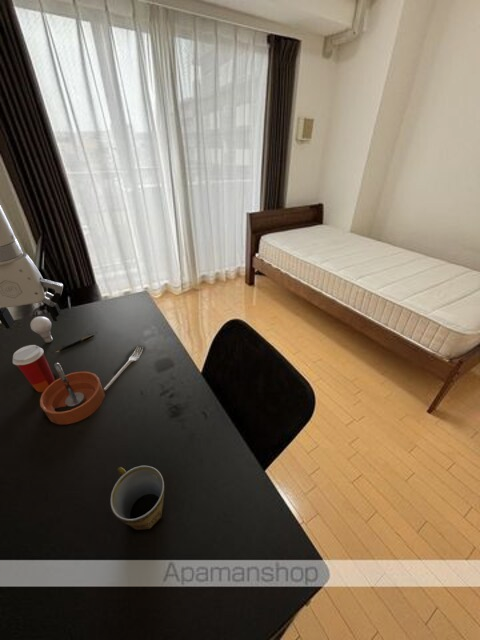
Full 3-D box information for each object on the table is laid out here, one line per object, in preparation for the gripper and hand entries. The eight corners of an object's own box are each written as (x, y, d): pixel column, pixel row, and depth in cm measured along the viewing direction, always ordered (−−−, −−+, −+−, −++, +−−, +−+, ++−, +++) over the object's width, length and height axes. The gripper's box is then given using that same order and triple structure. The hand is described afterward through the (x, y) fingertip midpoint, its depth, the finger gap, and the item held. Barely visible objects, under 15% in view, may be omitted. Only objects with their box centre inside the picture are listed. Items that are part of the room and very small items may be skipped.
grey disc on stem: (65, 412, 81) (42, 372, 71) (69, 398, 85) (47, 359, 75) (84, 408, 82) (64, 368, 73) (87, 394, 86) (68, 355, 77)
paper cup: (50, 373, 94) (32, 340, 86) (64, 382, 91) (47, 349, 83) (26, 389, 89) (4, 355, 80) (39, 399, 85) (18, 365, 77)
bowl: (42, 433, 76) (32, 419, 72) (55, 391, 88) (47, 377, 84) (103, 419, 79) (96, 405, 76) (107, 380, 91) (102, 367, 88)
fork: (100, 390, 88) (98, 386, 87) (137, 349, 104) (136, 345, 102) (109, 392, 87) (107, 388, 86) (145, 351, 103) (144, 347, 102)
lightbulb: (56, 334, 111) (45, 311, 105) (60, 342, 107) (49, 318, 101) (38, 341, 108) (25, 317, 102) (41, 349, 104) (28, 325, 98)
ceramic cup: (180, 510, 61) (174, 488, 55) (139, 554, 55) (127, 534, 49) (146, 470, 68) (137, 447, 62) (107, 504, 62) (93, 482, 56)
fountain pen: (55, 354, 101) (54, 351, 101) (54, 353, 102) (53, 350, 101) (95, 336, 110) (94, 333, 109) (94, 335, 110) (93, 332, 110)
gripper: (-65, 264, 51) (-16, 338, 61) (42, 253, 55) (72, 324, 65) (-45, 249, 57) (-3, 319, 67) (51, 241, 61) (77, 307, 71)
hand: (34, 321), depth 66 cm, fingers open, 9 cm apart
